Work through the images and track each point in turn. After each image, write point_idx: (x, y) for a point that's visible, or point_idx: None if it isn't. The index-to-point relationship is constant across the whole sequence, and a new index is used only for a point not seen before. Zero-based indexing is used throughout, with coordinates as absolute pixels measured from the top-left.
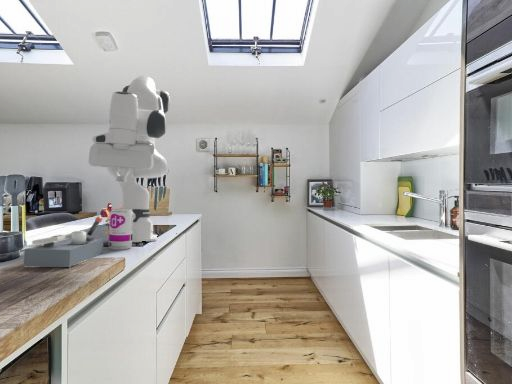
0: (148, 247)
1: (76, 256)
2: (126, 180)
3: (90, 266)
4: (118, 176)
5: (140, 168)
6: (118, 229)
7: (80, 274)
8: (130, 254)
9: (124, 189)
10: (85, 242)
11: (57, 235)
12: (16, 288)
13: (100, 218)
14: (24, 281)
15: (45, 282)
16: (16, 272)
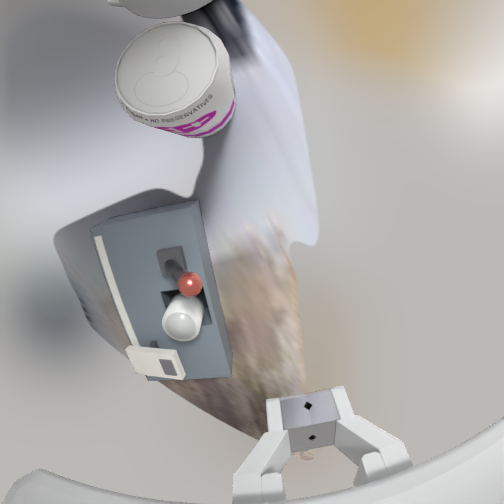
0: (280, 66)
1: (226, 342)
2: (344, 389)
3: (261, 334)
4: (294, 447)
5: (496, 424)
6: (198, 130)
7: (278, 376)
8: (282, 191)
9: None
10: (202, 307)
11: (167, 366)
12: (245, 425)
13: (199, 291)
14: (229, 410)
15: (258, 409)
16: (177, 382)
